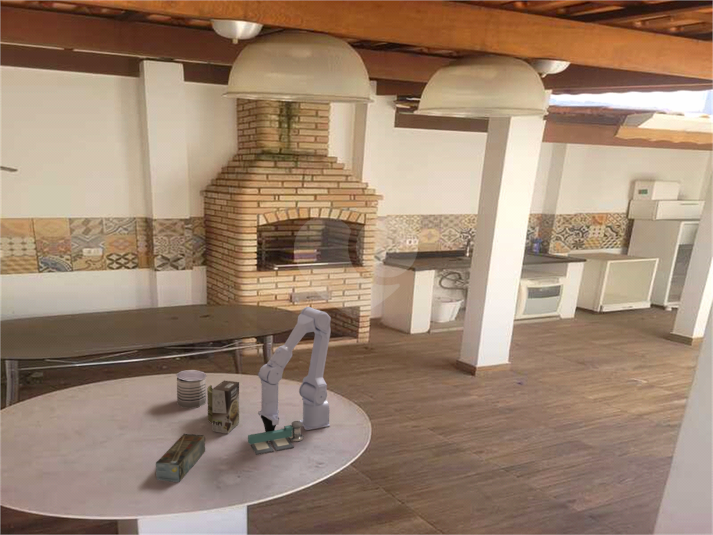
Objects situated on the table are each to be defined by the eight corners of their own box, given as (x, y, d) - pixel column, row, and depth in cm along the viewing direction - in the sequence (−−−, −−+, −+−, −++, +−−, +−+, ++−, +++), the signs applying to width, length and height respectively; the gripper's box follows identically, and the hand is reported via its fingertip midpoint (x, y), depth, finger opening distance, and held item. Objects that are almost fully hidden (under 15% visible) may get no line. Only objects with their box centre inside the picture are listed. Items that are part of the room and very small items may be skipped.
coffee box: (228, 434, 197) (227, 391, 194) (211, 431, 198) (211, 388, 195) (240, 423, 205) (240, 381, 202) (224, 420, 207) (223, 379, 204)
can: (184, 395, 228) (184, 367, 226) (211, 398, 226) (210, 370, 224) (171, 407, 217) (171, 378, 215) (199, 409, 215) (199, 380, 213)
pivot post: (300, 434, 199) (301, 422, 198) (305, 440, 194) (305, 428, 194) (287, 436, 197) (287, 424, 196) (291, 442, 192) (292, 431, 191)
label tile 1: (265, 438, 195) (265, 436, 195) (273, 451, 186) (273, 450, 186) (248, 441, 192) (248, 439, 192) (256, 455, 183) (256, 453, 183)
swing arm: (299, 431, 198) (299, 420, 197) (303, 435, 194) (303, 424, 194) (247, 440, 190) (247, 429, 189) (250, 445, 187) (250, 433, 186)
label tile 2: (284, 434, 198) (284, 433, 198) (293, 447, 189) (293, 446, 189) (268, 437, 195) (268, 436, 195) (276, 451, 186) (276, 449, 186)
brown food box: (243, 390, 206) (214, 396, 199) (243, 420, 208) (214, 427, 201) (231, 379, 215) (202, 385, 208) (231, 409, 217) (203, 415, 210)
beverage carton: (154, 480, 167) (153, 460, 166) (183, 449, 186) (183, 431, 185) (179, 483, 166) (178, 463, 165) (206, 452, 185) (206, 433, 184)
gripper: (253, 392, 196) (253, 428, 198) (264, 409, 183) (264, 447, 185) (272, 389, 199) (272, 425, 201) (284, 406, 186) (284, 443, 188)
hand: (269, 435), depth 194 cm, fingers closed
